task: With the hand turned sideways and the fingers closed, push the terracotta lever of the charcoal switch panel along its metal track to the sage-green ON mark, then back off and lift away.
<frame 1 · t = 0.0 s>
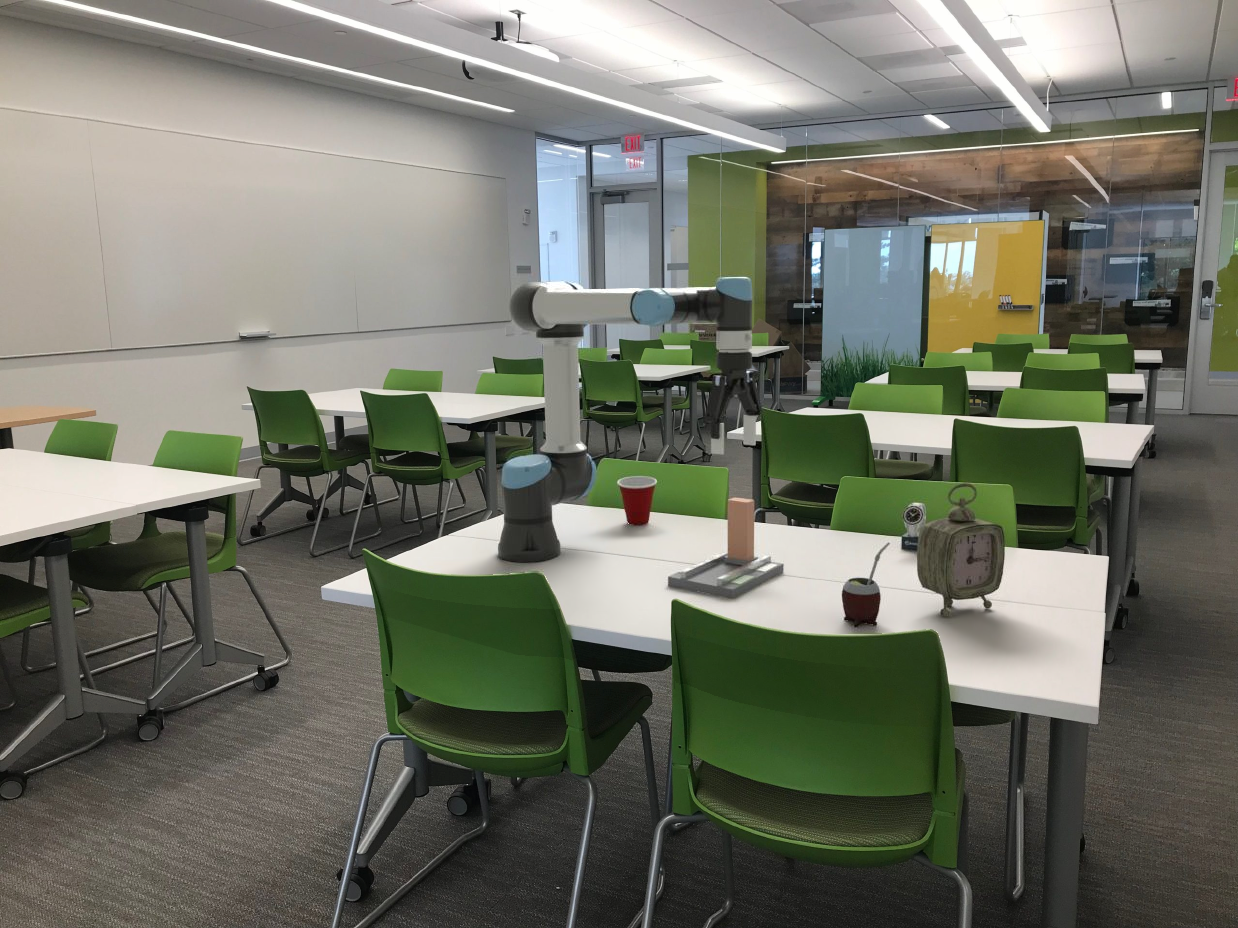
hand: (733, 449, 206), 28 cm above the table, tool pointing down, fingers open, 13 cm apart
watch: (915, 549, 228), on the table
plastic cup: (637, 523, 258), on the table
tabletop clock: (955, 609, 185), on the table
switch panel: (726, 578, 207), on the table
switch lever: (740, 531, 210), point 9 cm above the table, slide at 0.0 cm
mate gourd: (862, 622, 179), on the table
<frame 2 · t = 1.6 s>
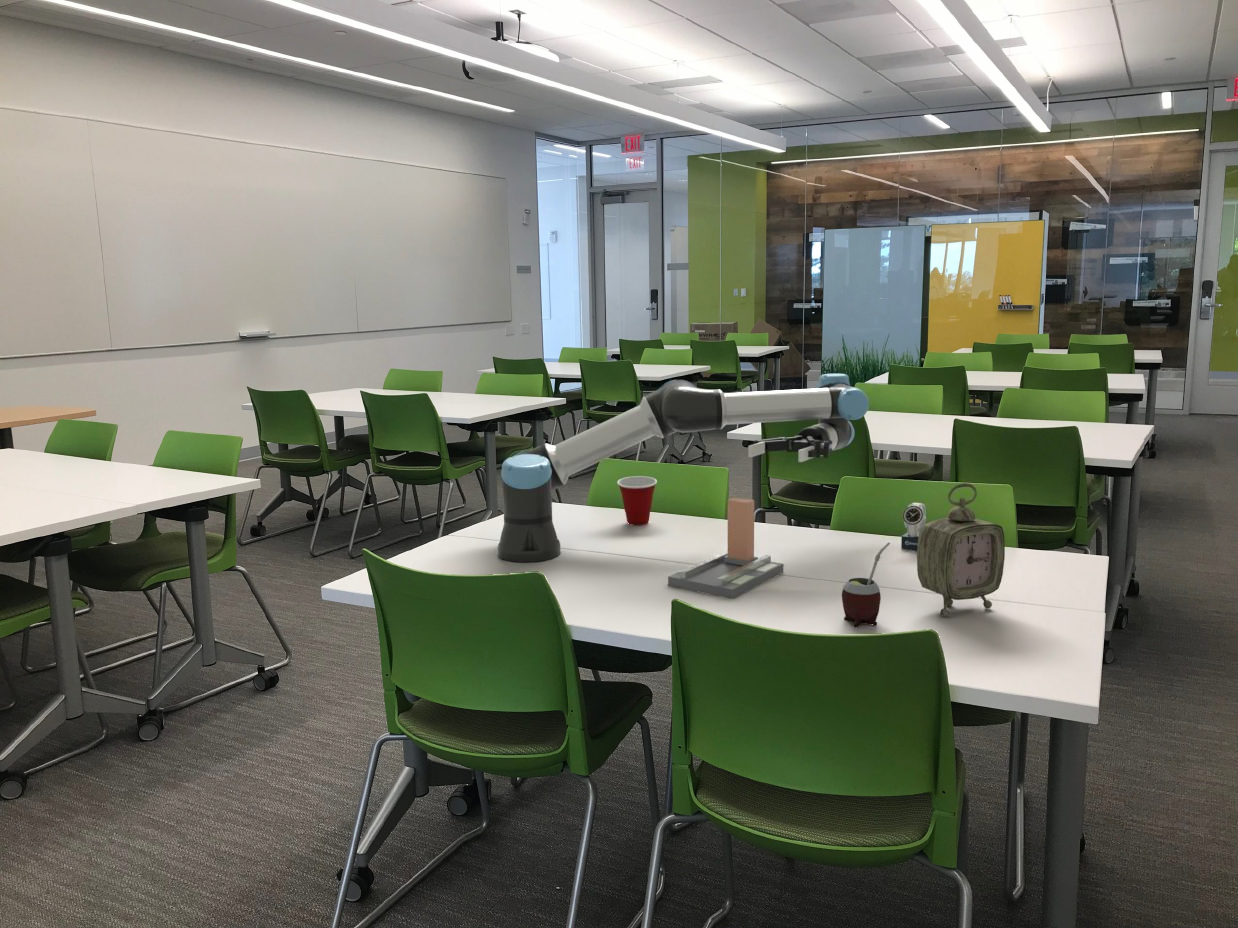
hand: (774, 453, 219), 25 cm above the table, tool horizontal, fingers open, 12 cm apart
nothing on the table moved.
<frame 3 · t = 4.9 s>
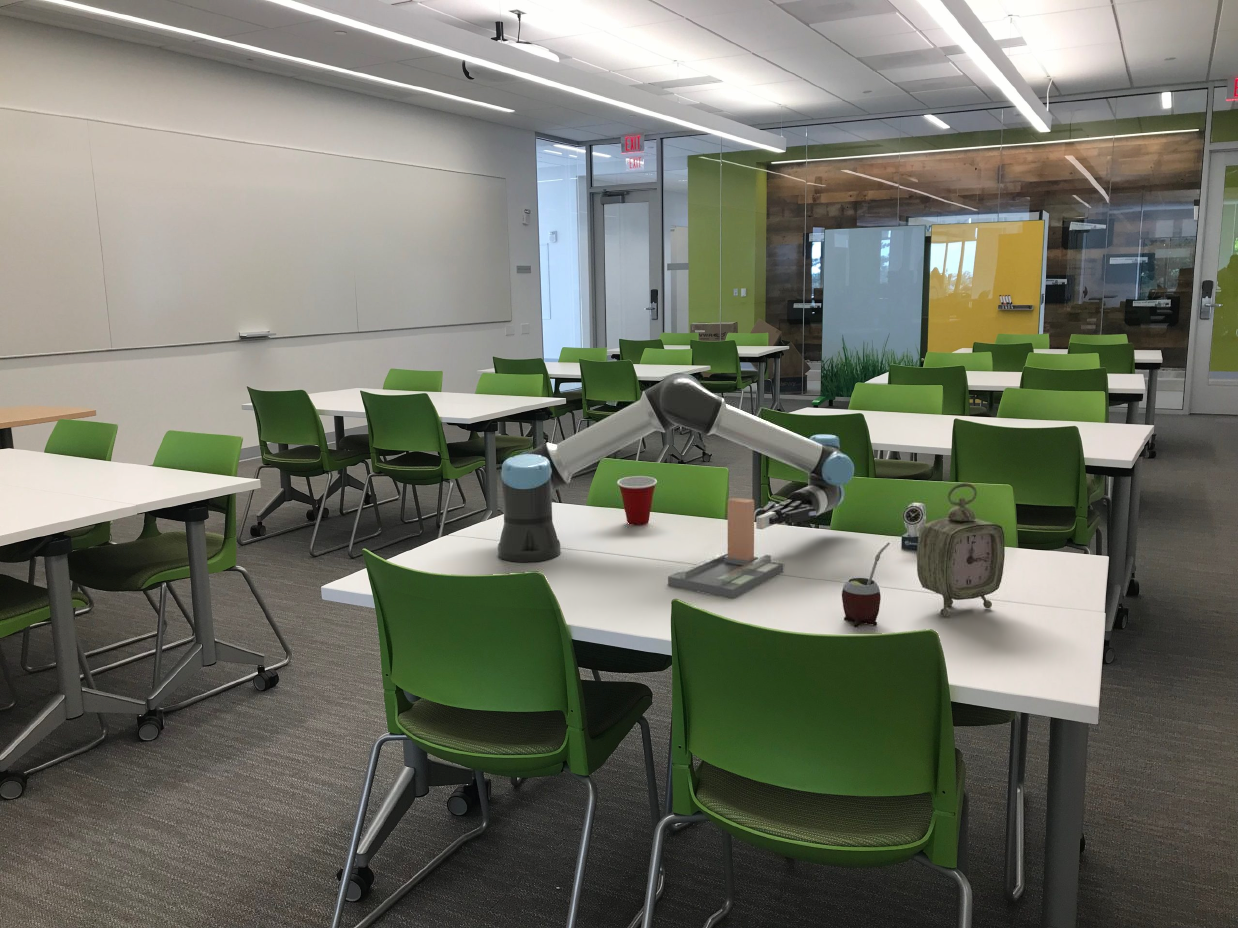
hand: (759, 523, 215), 10 cm above the table, tool horizontal, fingers closed
nothing on the table moved.
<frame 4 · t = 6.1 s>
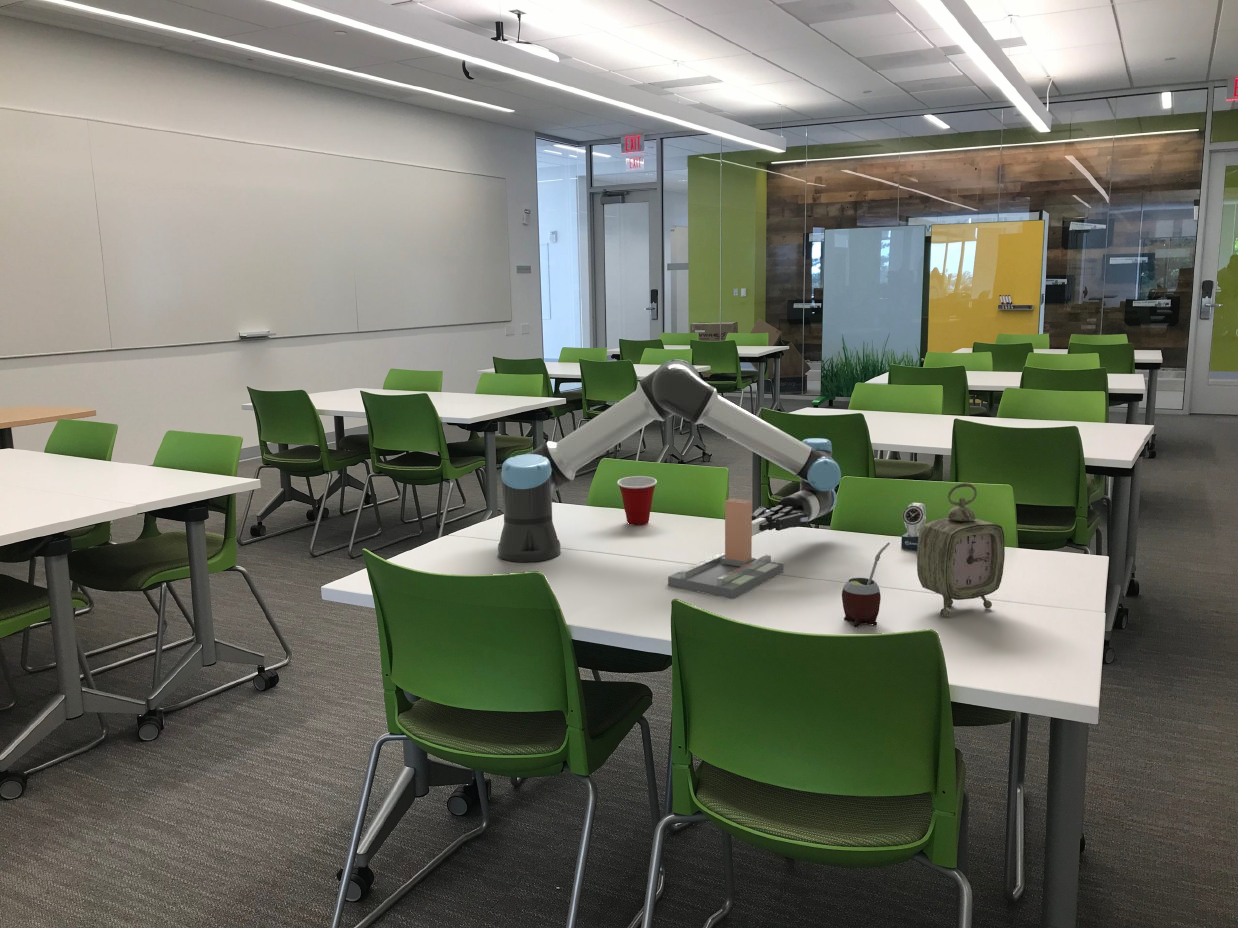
hand: (748, 529, 210), 10 cm above the table, tool horizontal, fingers closed
switch lever: (738, 532, 209), point 9 cm above the table, slide at 1.1 cm, touching gripper
everything else where it was.
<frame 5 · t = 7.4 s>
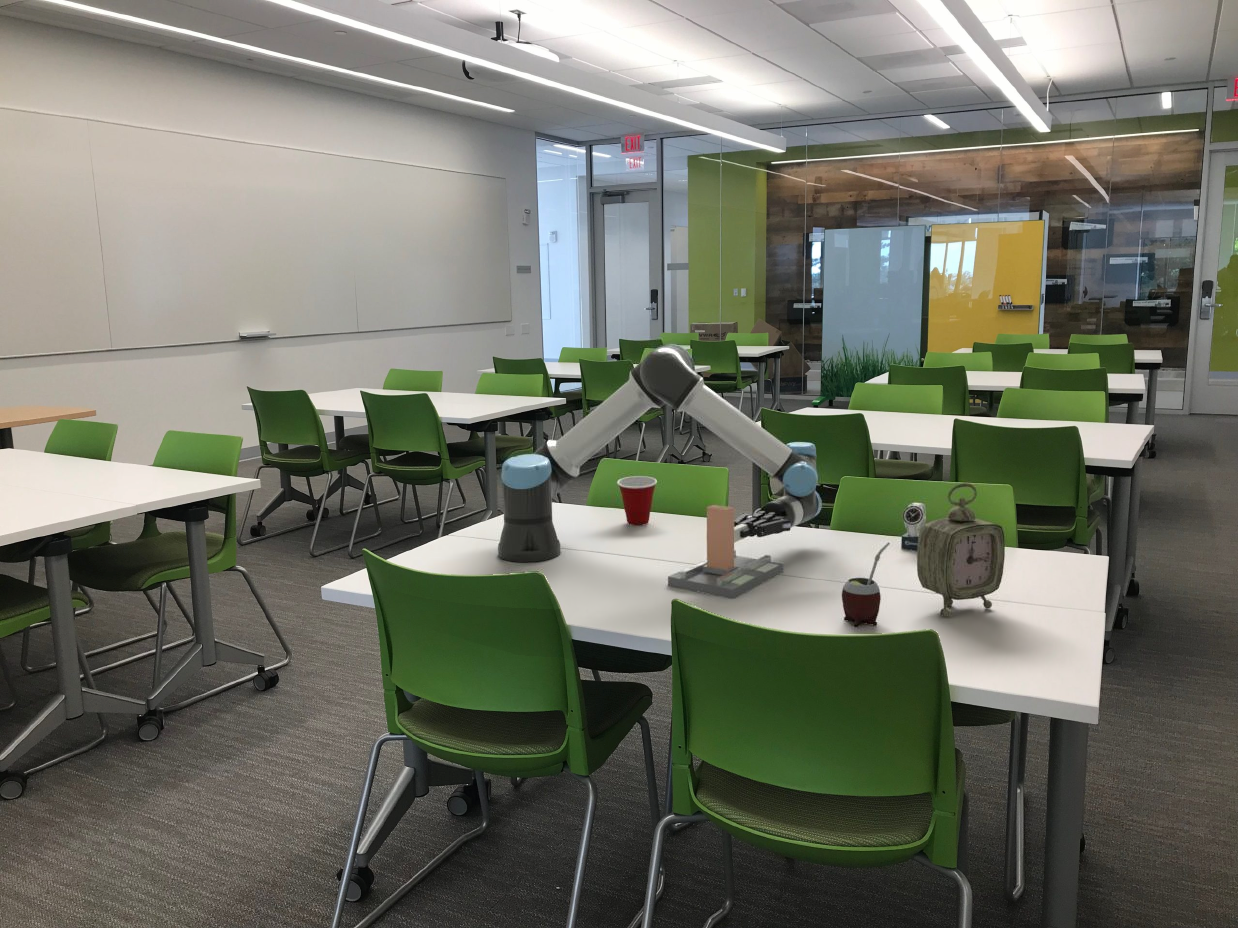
hand: (729, 536, 204), 10 cm above the table, tool horizontal, fingers closed
switch lever: (720, 539, 203), point 9 cm above the table, slide at 8.7 cm, touching gripper
everything else where it was.
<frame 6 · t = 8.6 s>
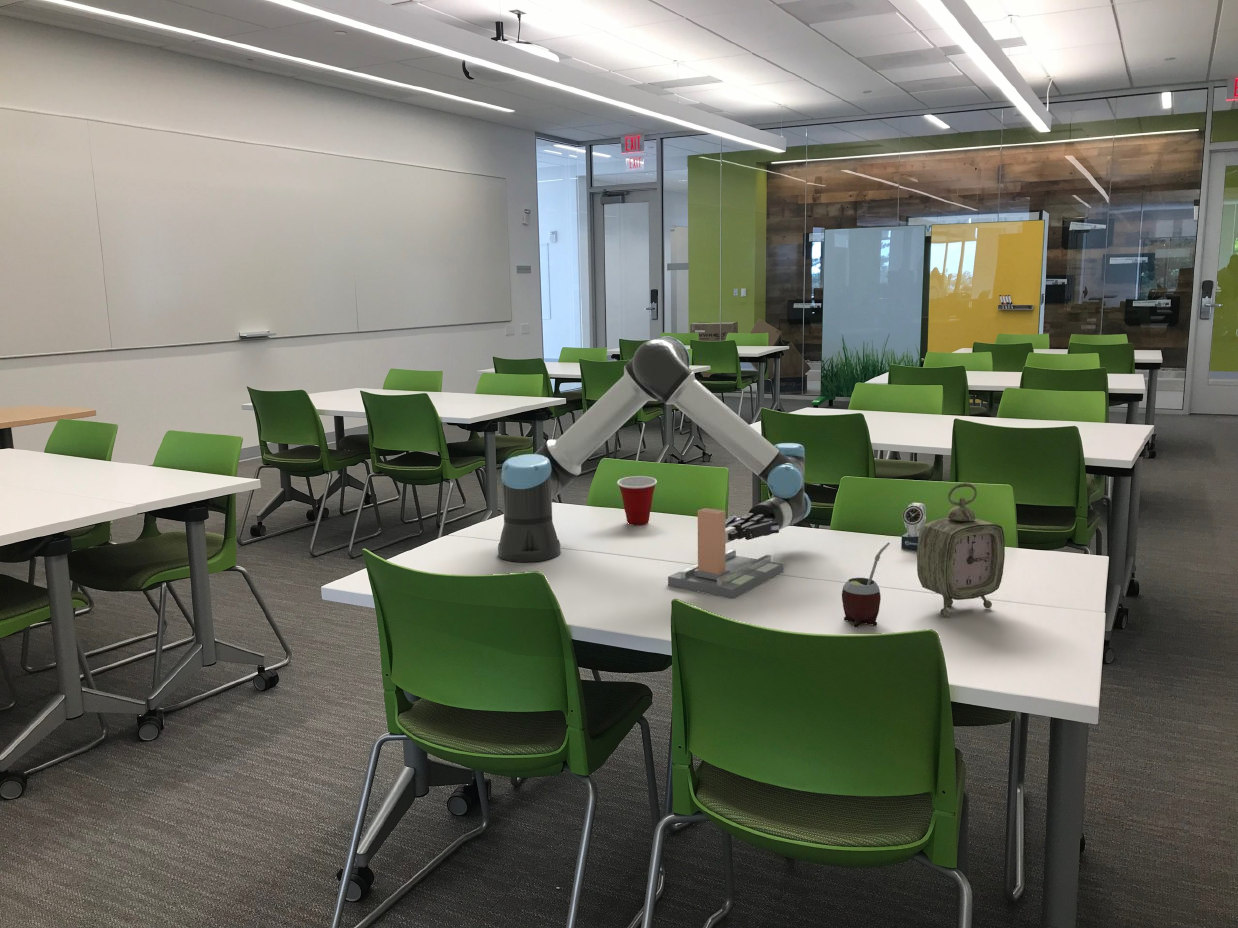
hand: (717, 539, 202), 10 cm above the table, tool horizontal, fingers closed
switch lever: (711, 543, 200), point 9 cm above the table, slide at 12.2 cm, touching gripper
everything else where it was.
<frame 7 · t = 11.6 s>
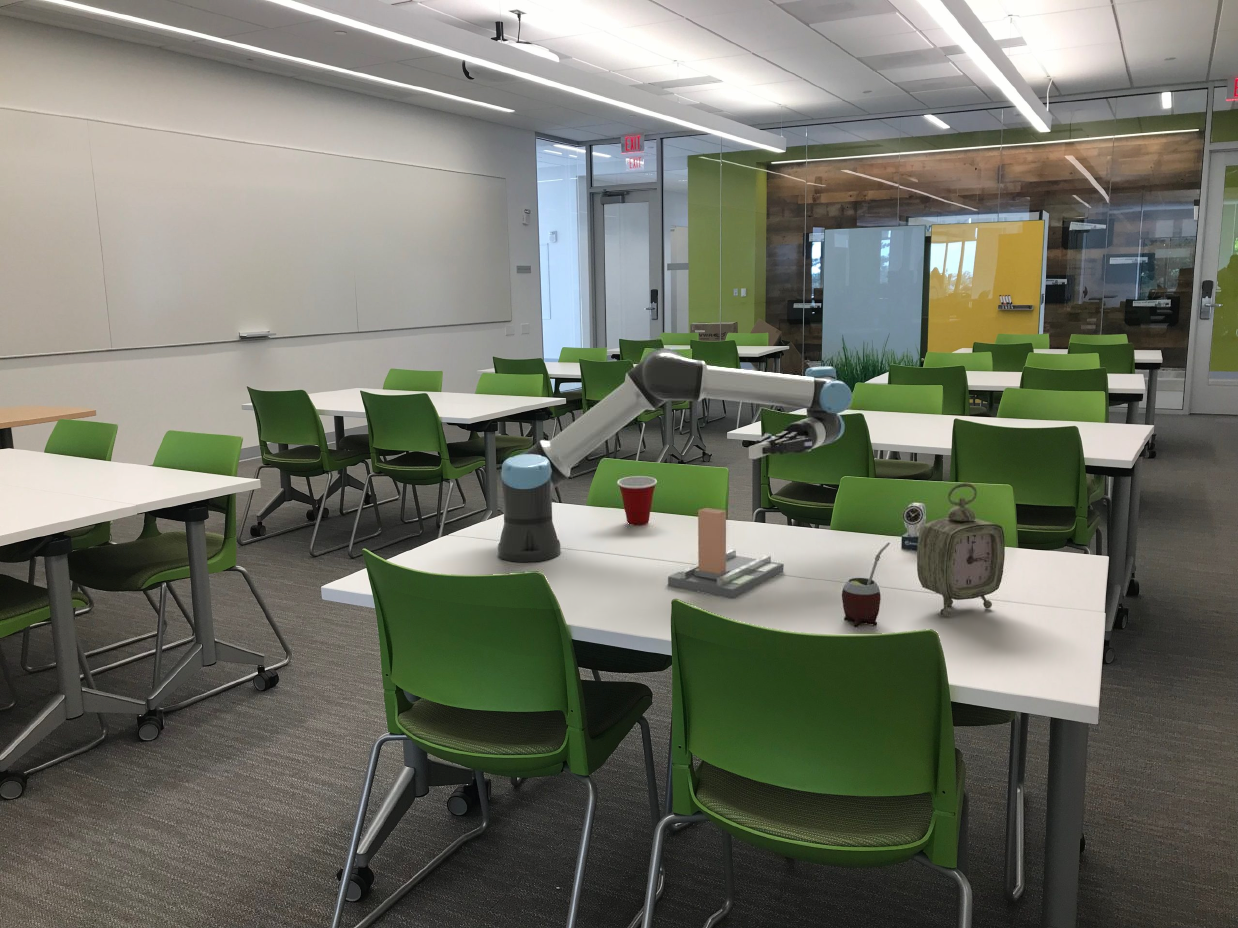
hand: (751, 452, 213), 26 cm above the table, tool horizontal, fingers closed
switch lever: (712, 543, 201), point 9 cm above the table, slide at 12.0 cm
everything else where it was.
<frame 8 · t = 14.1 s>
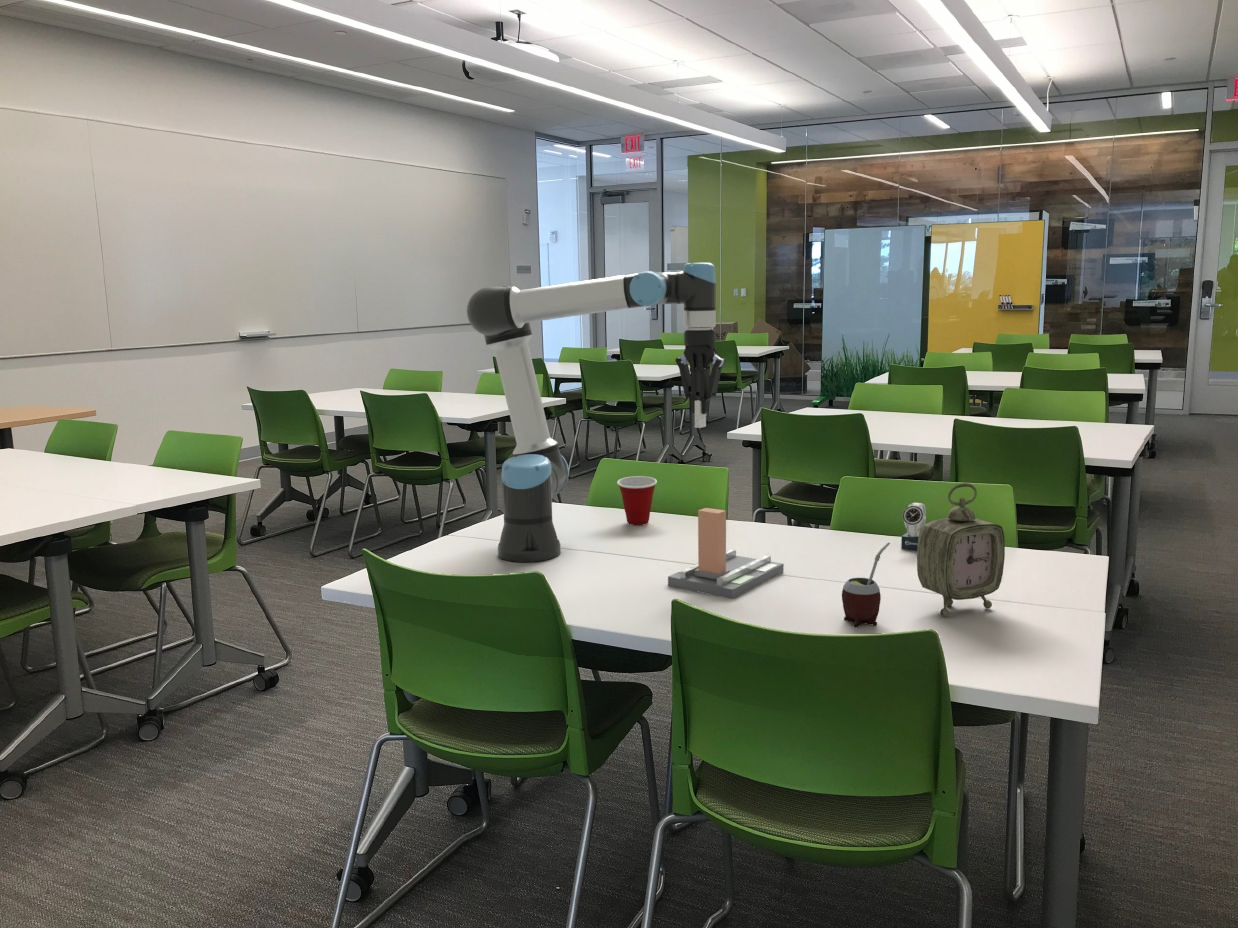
hand: (700, 426, 230), 29 cm above the table, tool pointing down, fingers closed
nothing on the table moved.
at the end: switch lever slide at 12.0 cm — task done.
